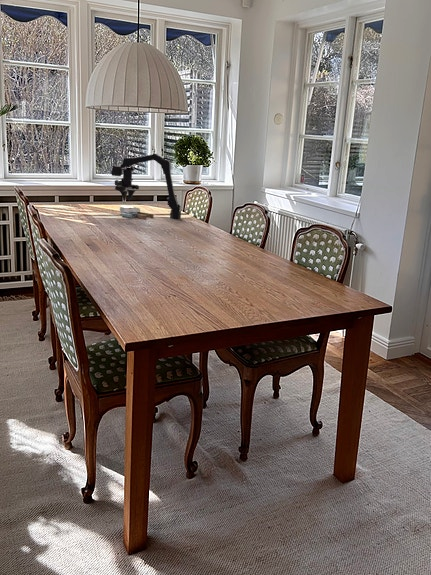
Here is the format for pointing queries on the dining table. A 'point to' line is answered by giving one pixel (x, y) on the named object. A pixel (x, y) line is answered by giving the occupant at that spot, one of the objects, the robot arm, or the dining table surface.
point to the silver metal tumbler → (129, 209)
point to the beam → (144, 215)
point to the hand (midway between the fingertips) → (126, 200)
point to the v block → (129, 215)
